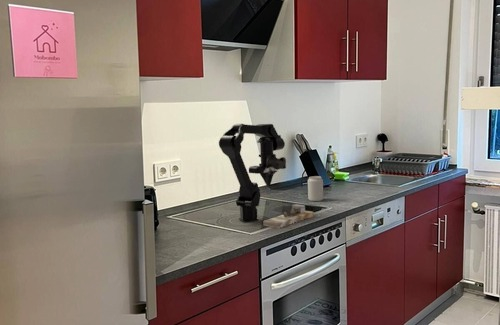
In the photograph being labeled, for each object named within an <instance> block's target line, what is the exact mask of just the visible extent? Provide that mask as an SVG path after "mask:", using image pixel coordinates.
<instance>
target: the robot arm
mask: <svg viewBox="0 0 500 325" xmlns="http://www.w3.org/2000/svg"><path fill="white" fill-rule="evenodd" d="M245 134H251V135H255V136H257V137H259V138H258V140H257V141H256V143H259V147H260V148H259V150H260V154H258V157H259V158H260V163H259V164H258V165H252V166H251V165H250V166H249V167H248V170H247V167H246V165H245V163H244V160H243V157H242V154H241V151H242V143H243V141H244V137H245ZM285 142H286V141H285V140H284V139H283V138H282V136H281V134H278V132H277V130H276V127H275V126H274V124H273V123H259V124H245V123H235V124H233V125H232V126H231V128H229V129H227V130H226V131H225V132H224V133H223V135H222V136H220V139H219V140H218V146H219V149H220V150H221V151H222V153H223V154H224V155H225V156H227V158H228V159H229V161H230V164H231V167H232V168H233V171H234V173H235V177H236V179H237V181H238V183H239V189H238V193H239V195H238V197H237V198H236V200H235V204H236V206H237V207H239V215H240V216H239V218H238V220H239V221H241V222H243V223H249V222H255V221H259V218H258V208H257V207H259V206H260V200H261V189H260V188H259V184H258V183H257V182H252V180H251V177H250V176H249V174H255V175H257V174H259V175H260V177H261V178H262V179H263V181H264V184H265V185H266V187H267V188H269V187H270V186H271V183H272V180H273V177H274V175H275V174H276V173H278V171H279V170H285V169H286V168H287V166H286V165H287V160H286V158H285V157H284V156H283V157H282V156H281V157H279V158H277V155H276V153H274V151H280V150H283V149H284V148H285Z"/></svg>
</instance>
